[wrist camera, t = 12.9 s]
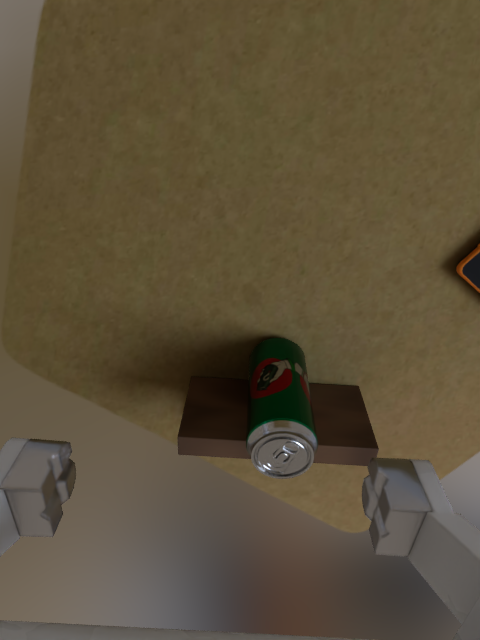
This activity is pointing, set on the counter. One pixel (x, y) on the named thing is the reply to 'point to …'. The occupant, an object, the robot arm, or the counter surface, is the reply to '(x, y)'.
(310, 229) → the counter surface
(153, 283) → the counter surface
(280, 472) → the soda can
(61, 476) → the robot arm
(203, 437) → the brown rectangular block
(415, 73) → the counter surface
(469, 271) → the smartphone
